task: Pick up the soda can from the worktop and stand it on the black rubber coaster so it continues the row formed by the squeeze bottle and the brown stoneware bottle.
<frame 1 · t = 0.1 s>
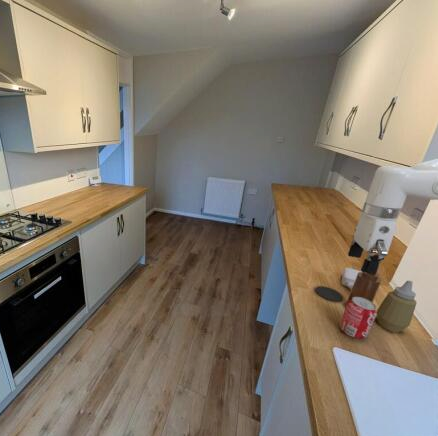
hand: (360, 264, 72), 24 cm above the counter, tool pointing down, fingers open, 9 cm apart
coaster: (328, 294, 96), on the counter
stoneware bottle: (356, 308, 88), on the counter
soda can: (351, 332, 78), on the counter
squeeze bottle: (388, 326, 81), on the counter
charger: (354, 287, 101), on the counter
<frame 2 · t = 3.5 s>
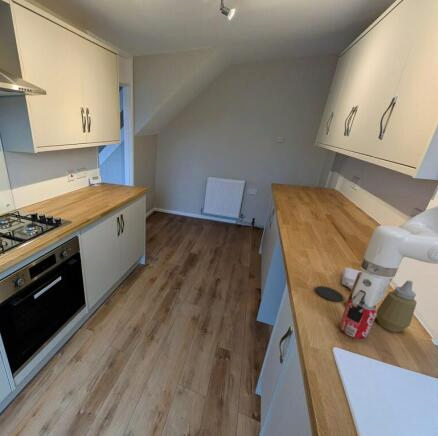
hand: (358, 314, 75), 7 cm above the counter, tool pointing down, fingers closed on soda can, 7 cm apart
soda can: (351, 332, 78), on the counter, touching gripper
everything else where it was.
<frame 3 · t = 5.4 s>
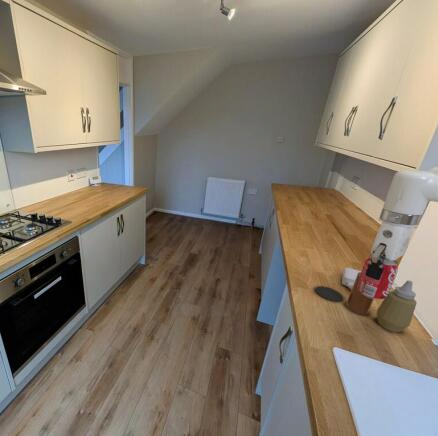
hand: (378, 273, 70), 23 cm above the counter, tool pointing down, fingers closed on soda can, 7 cm apart
soda can: (370, 294, 72), point 15 cm above the counter, touching gripper
everything else where it was.
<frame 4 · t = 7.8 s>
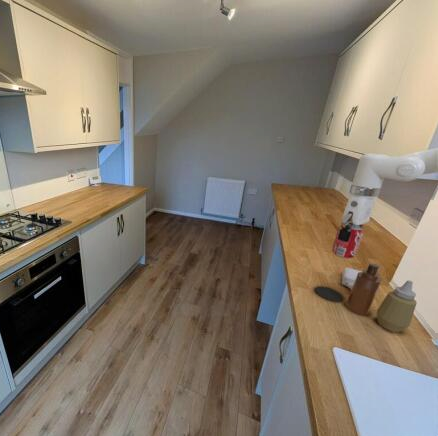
hand: (348, 238, 87), 25 cm above the counter, tool pointing down, fingers closed on soda can, 7 cm apart
soda can: (342, 255, 90), point 18 cm above the counter, touching gripper
everything else where it was.
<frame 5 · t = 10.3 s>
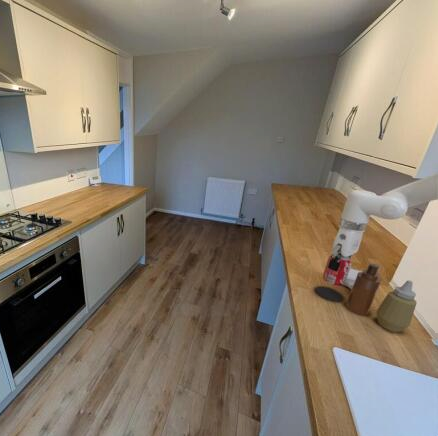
hand: (338, 266, 92), 13 cm above the counter, tool pointing down, fingers closed on soda can, 7 cm apart
soda can: (332, 282, 94), point 5 cm above the counter, touching gripper
everything else where it was.
when the fingers open (8 cm above the counter, at t = 12.1 s): soda can stays where it is, resting on coaster.
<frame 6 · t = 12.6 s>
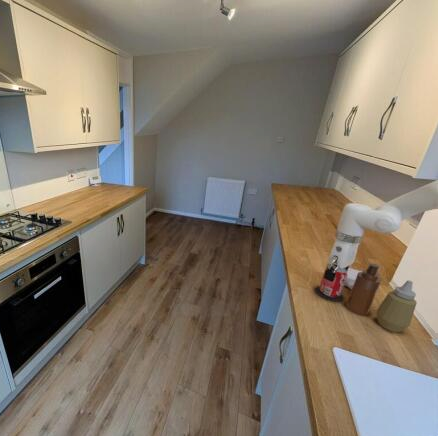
hand: (334, 276, 93), 9 cm above the counter, tool pointing down, fingers open, 9 cm apart
soda can: (328, 293, 96), resting on coaster
everything else where it was.
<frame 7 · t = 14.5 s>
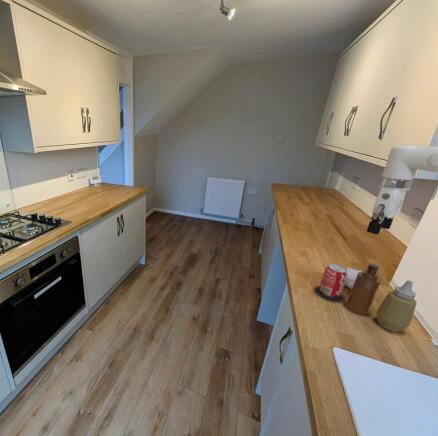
hand: (378, 230, 85), 29 cm above the counter, tool pointing down, fingers open, 9 cm apart
nothing on the counter moved.
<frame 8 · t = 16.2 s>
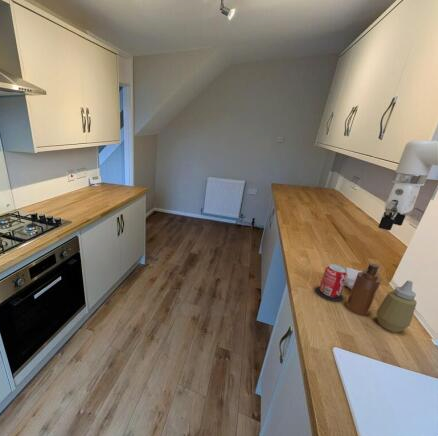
hand: (389, 226, 85), 30 cm above the counter, tool pointing down, fingers open, 9 cm apart
nothing on the counter moved.
at the end: soda can 0.1 cm from the target spot, resting on coaster; soda can tilted 0°; the gripper is holding nothing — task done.
